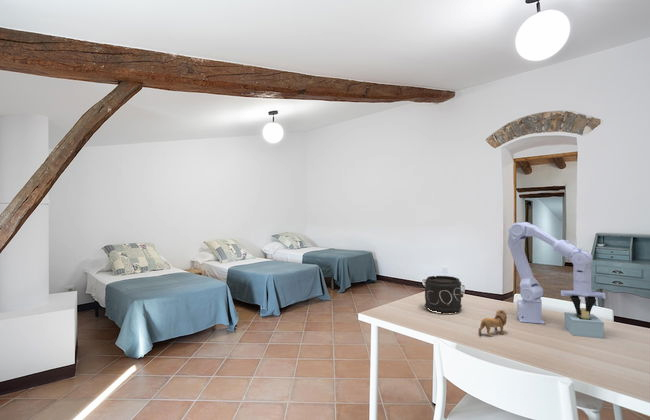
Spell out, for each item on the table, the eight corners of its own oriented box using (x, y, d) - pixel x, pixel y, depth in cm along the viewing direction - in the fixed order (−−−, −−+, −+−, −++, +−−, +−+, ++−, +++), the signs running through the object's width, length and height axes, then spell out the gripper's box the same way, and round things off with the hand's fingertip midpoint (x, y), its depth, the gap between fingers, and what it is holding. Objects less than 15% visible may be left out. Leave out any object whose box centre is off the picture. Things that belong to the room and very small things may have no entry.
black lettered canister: (462, 317, 160) (461, 283, 160) (422, 312, 167) (422, 280, 168) (464, 307, 176) (463, 276, 176) (428, 303, 184) (427, 274, 184)
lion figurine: (499, 329, 143) (498, 307, 143) (510, 333, 138) (510, 310, 138) (474, 335, 136) (473, 312, 136) (485, 339, 131) (485, 316, 131)
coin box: (572, 335, 134) (572, 320, 134) (564, 326, 145) (564, 312, 145) (604, 338, 131) (603, 322, 131) (593, 328, 141) (593, 314, 141)
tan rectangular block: (581, 322, 136) (581, 311, 136) (577, 318, 140) (577, 307, 140) (589, 323, 135) (589, 311, 135) (584, 319, 139) (584, 308, 139)
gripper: (563, 282, 137) (564, 316, 137) (608, 284, 131) (609, 319, 131) (558, 278, 143) (559, 311, 143) (601, 280, 138) (601, 314, 138)
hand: (583, 314), depth 138 cm, fingers closed on tan rectangular block, 2 cm apart
